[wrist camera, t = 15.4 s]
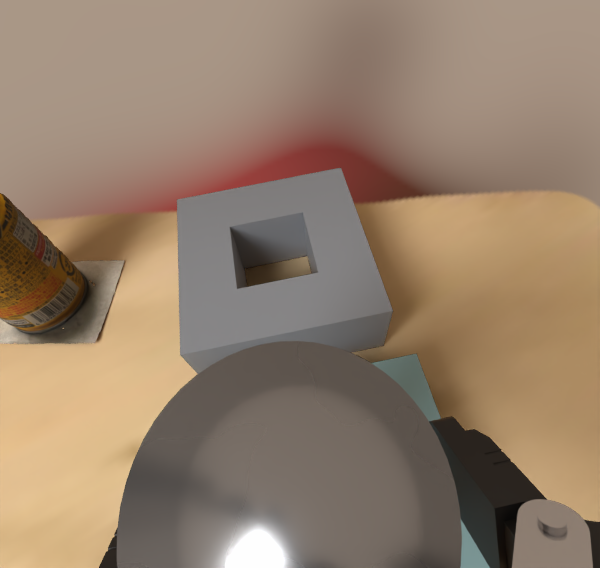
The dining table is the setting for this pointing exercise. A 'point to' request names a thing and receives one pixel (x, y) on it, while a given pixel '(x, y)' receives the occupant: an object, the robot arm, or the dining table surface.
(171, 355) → the dining table surface
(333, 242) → the socket block
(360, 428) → the steel pin
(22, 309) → the condiment
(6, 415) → the dining table surface
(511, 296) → the dining table surface
